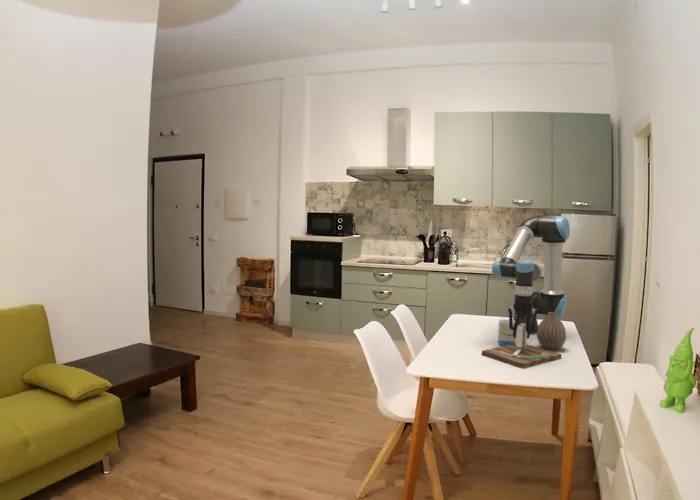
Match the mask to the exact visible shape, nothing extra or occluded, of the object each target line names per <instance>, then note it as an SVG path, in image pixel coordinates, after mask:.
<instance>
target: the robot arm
mask: <svg viewBox="0 0 700 500" xmlns="http://www.w3.org/2000/svg"><path fill="white" fill-rule="evenodd" d="M570 233H571V229H570V223H569V220H568V218H567V217H565V216H561V215H560V216H559V215H533V216H531V217H528V218H526V219H524V220H523V221H522V222H521V223H520V224H519V225H518V226H517V227H516V229H515V231H514V236H513V238H512V240H511V241H510V244H509V246H508V247H507V249H506V251H505V253H504V254H503V257H502V258H501V259H500V260H496V261H493V263H492V266H491V272H492V275H493V276H494V277H500V278H509V279H510V278H511V279H515V288H514V289H515V290H514V294H515V295H514V303H513V306H510V307H507V311H508V320H509V328H510V329H512V330H513V337H514V338H515V345H517V326H519V325H520V324H521V323H524V324H526V331H525V332H524V346H526V345H528V344H527V343H528V342H527V341H528V339H530V336H531V335H530V334H532V335H533V334H537V329H538V326H539V324H538V319H537V315H542V316H547V314H548V312H553V313H557V314H558V317H559V318H561V317H563V315H565V313H566V309H567V306H568V299H569V298H568V296H567V295H565V291H564V290H563V289H562V275H563V274H562V271H563V270H562V269H563V268H562V267H563V245H564V244H565V243H566V242H567V241H566V240H568V239H569V238H570ZM534 238H539V239H541V242H542V244H544V259H543V260H544V263H543V264H544V266H543V269H542V268H541V266H540V265H539V264H537V263H534V262H533V261H530V260H520V259H521V257H522V255H523V253H524V251H525V250H526V247H527V245H528V244H529V242H530V241H532V240H533V239H534ZM543 270H544V271H543ZM543 272H544V273H543ZM542 273H543V288H542V289H541V290H540V292H539V290H538V289H535V288H534V287H533V286H534V281H535V280H537V279H539V278H541V276H542ZM513 313H514V316H513ZM512 320H515V323H514V327H513V321H512Z"/></svg>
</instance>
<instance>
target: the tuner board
mask: <svg viewBox="0 0 700 500" xmlns="http://www.w3.org/2000/svg"><path fill="white" fill-rule="evenodd" d="M517 349H518V347H517V345H515V344H511V345H506V346H498V347H493V348H489V349H484V350H481V356H483V357H486V358H490V359H494V361H495V360H496V361H498V362H502V363H504V364H508V365H510V366H514V367H517V368H520V369H522V368H523V369H527V368H531V367H534V366H537V365H541V364H545V363H549V362H552V361H556V360H561V359H562V354H561V353H559V352H555V351H553V350H548V349H544V348H541V347H538V346H534V345H530V344H527V345H526V346H524V345H523V350H522V351H521V352H520V353H519V354H518V355H517V356H513V354H514V353H515V351H516V350H517Z"/></svg>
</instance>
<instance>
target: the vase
mask: <svg viewBox="0 0 700 500" xmlns="http://www.w3.org/2000/svg"><path fill="white" fill-rule="evenodd" d="M536 337H537V341H538V343H539V345H540V346H541V347H542V349H545V350H548V351H558V350H559V349H561V348H562V347H563V346H564V344H565V342H566V339H567V332H566V328H565V326H564V323H563V322H562V321H561V319H560V317H558V314H557V313H553V312H548V314H547V315H545V317H544V318H543V320H541V322H540V323H539V324H538V329H537V333H536Z"/></svg>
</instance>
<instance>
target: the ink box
mask: <svg viewBox="0 0 700 500" xmlns="http://www.w3.org/2000/svg"><path fill="white" fill-rule="evenodd" d="M512 321H513V327H514V323H515V320H513V319H512ZM517 330H518V326H517ZM497 332H498V333H497V343H498V345H499V347H501V346H506V345H511V344H515V338H514V337H513V330H512V329H510V328H509V319H501V318H500V319H498V331H497Z"/></svg>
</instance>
